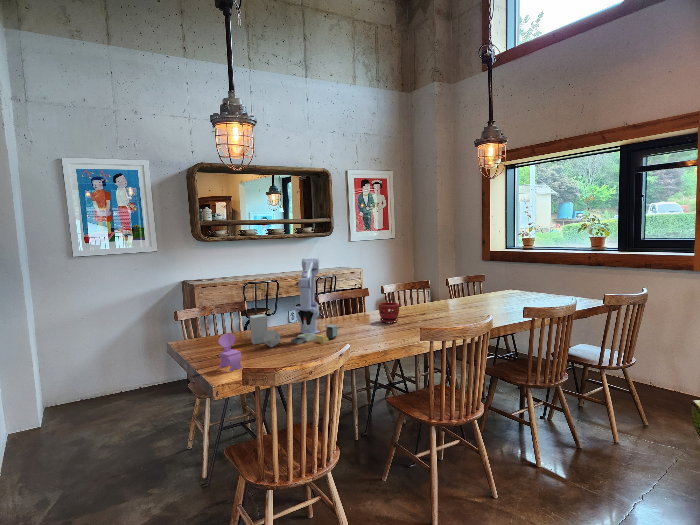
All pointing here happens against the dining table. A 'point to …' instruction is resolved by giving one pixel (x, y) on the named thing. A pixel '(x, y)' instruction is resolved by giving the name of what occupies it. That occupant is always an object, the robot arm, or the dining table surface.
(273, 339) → the die
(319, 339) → the block
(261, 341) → the skincare box
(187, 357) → the dining table surface
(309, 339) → the tray
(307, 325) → the pin
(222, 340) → the toy chair
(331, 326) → the castor
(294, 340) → the pin socket
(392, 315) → the plant pot
